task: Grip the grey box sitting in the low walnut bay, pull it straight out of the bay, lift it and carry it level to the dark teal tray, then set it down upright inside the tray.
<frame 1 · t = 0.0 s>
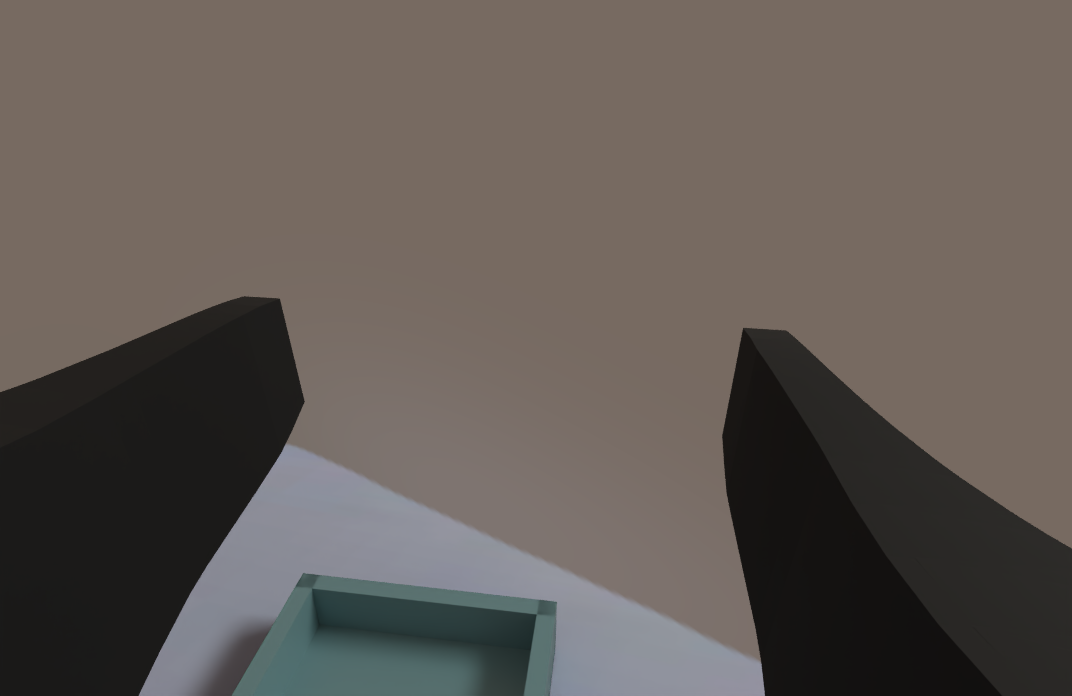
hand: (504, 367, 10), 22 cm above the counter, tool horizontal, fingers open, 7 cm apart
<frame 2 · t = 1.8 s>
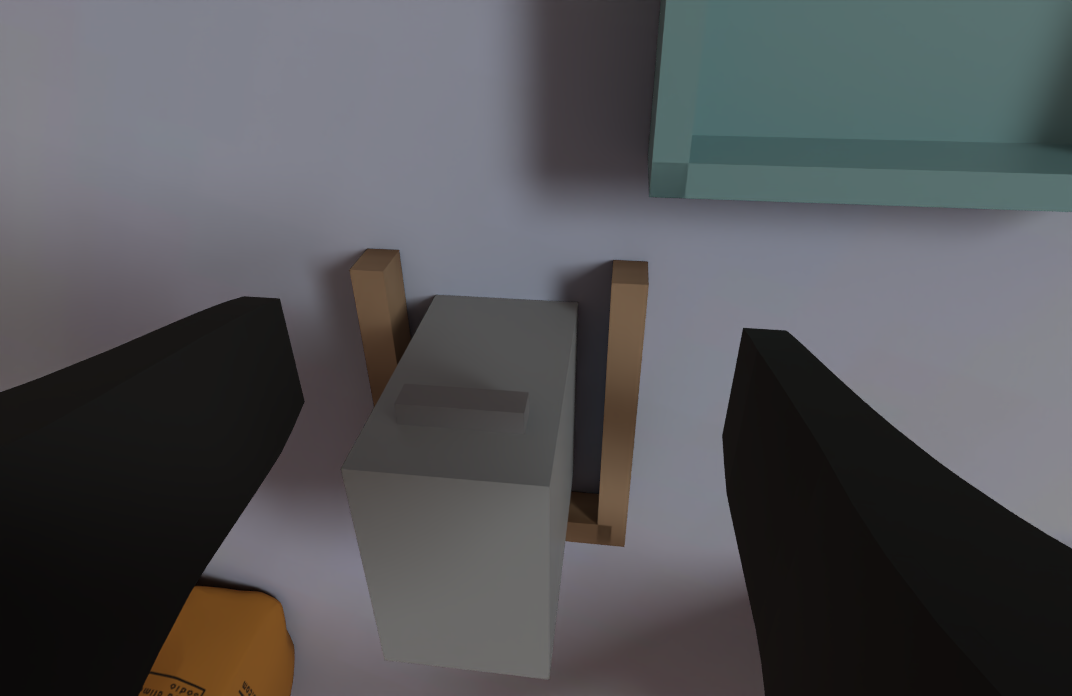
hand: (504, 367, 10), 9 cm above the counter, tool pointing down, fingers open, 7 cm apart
bay: (509, 390, 22), on the counter
coffee package: (211, 634, 33), on the counter
grey box: (509, 388, 22), resting in bay
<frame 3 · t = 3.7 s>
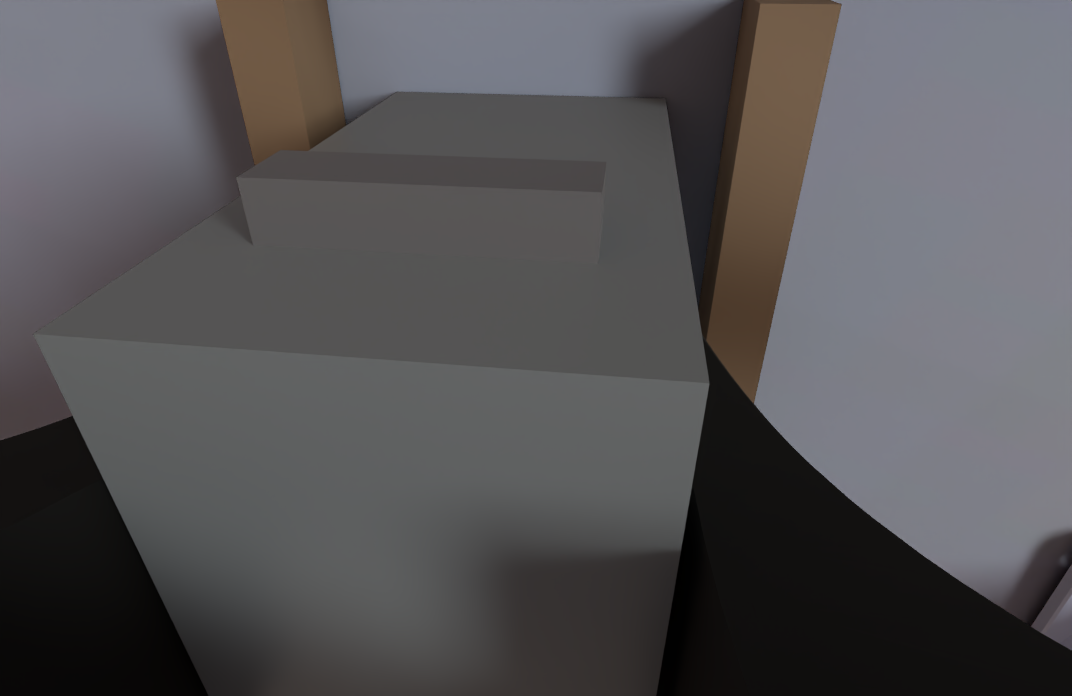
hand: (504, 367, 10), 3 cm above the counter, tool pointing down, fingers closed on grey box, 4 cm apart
bay: (530, 284, 13), on the counter
grey box: (529, 283, 13), resting in bay, touching gripper
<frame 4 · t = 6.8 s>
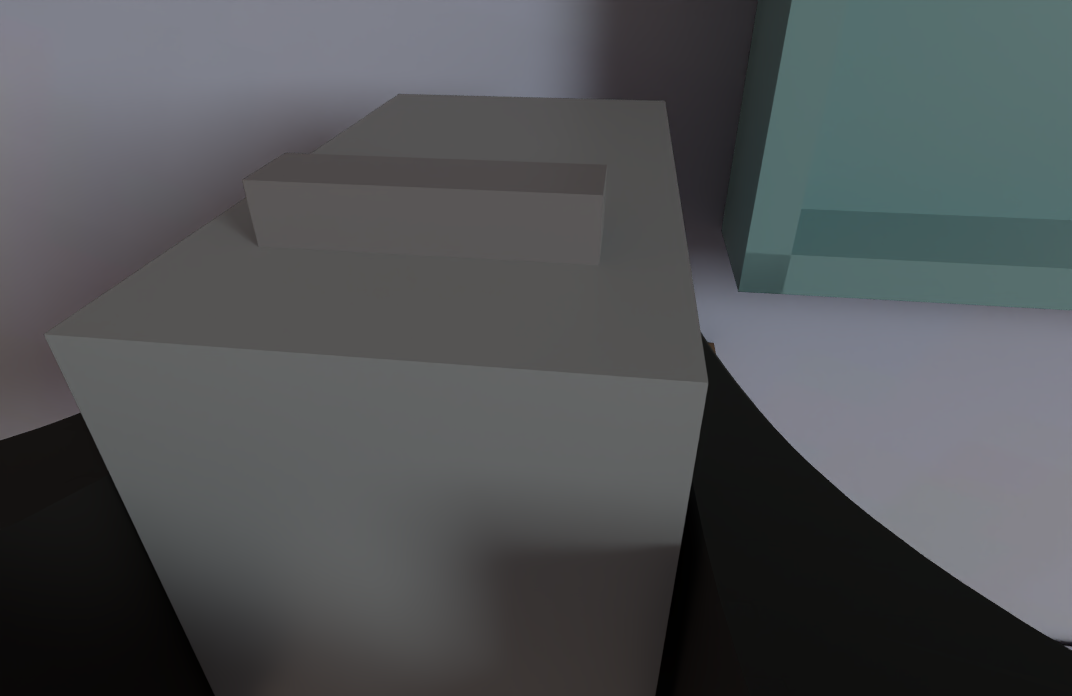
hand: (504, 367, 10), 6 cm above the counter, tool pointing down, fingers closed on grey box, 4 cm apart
grey box: (530, 284, 13), point 3 cm above the counter, touching gripper
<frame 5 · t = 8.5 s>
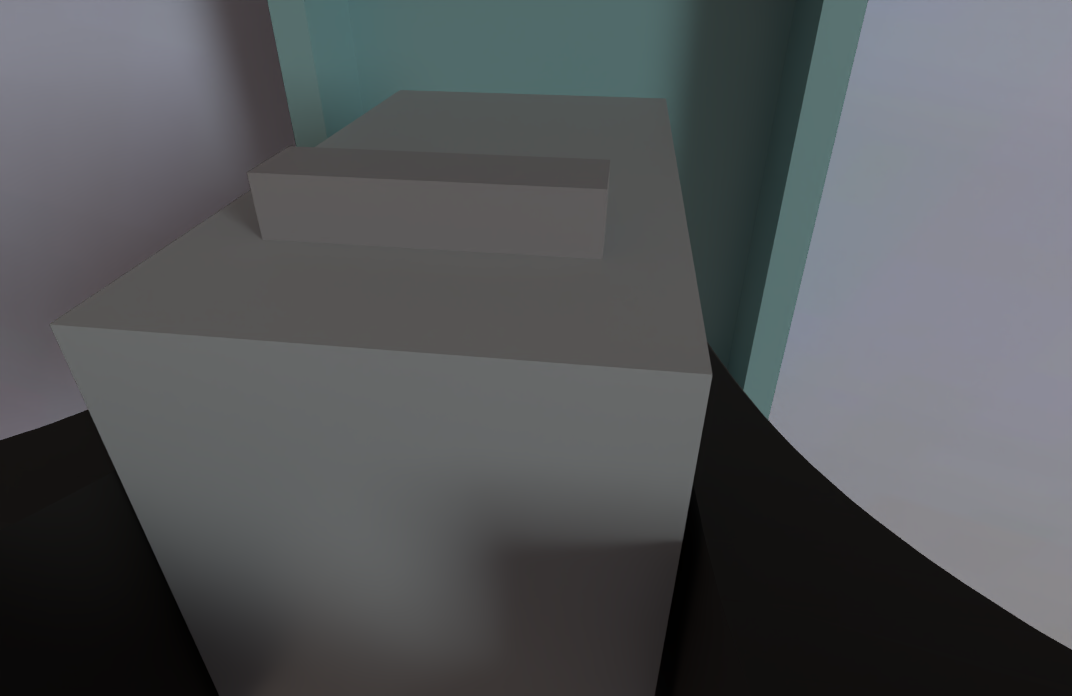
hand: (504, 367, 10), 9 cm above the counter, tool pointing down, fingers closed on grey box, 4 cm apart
tray: (562, 180, 18), on the counter
grey box: (530, 281, 13), point 6 cm above the counter, touching gripper
when the fingers open (5 cm above the counter, at t = 10.0 s): grey box stays where it is, resting on tray.
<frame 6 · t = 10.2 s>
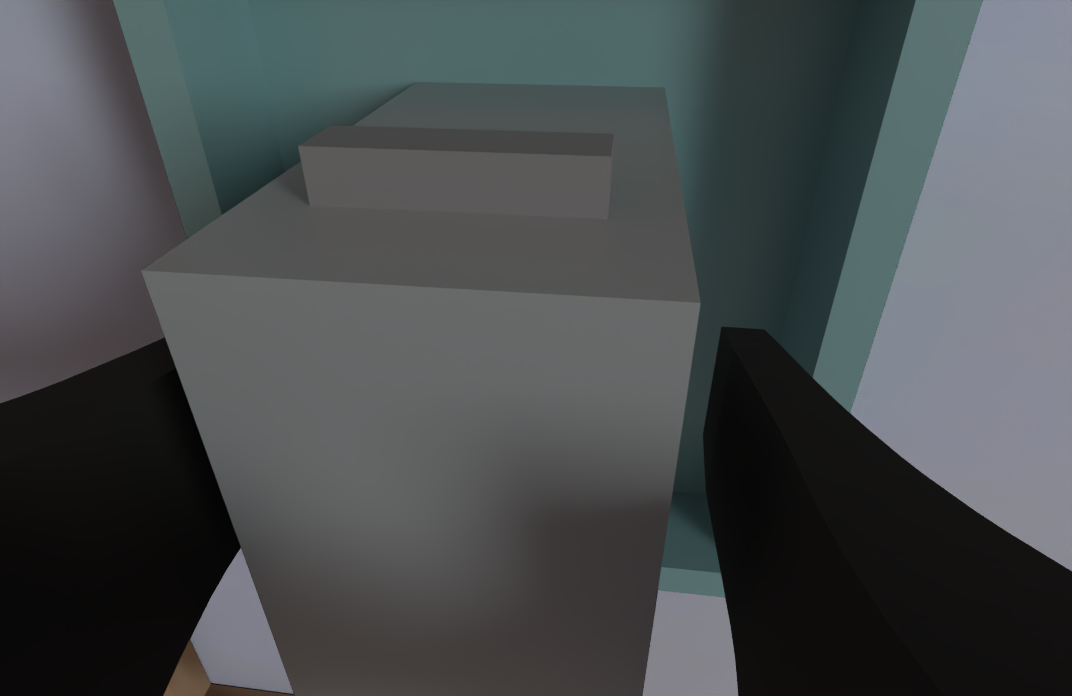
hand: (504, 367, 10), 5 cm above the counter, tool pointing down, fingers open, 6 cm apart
tray: (540, 248, 14), on the counter
bay: (262, 623, 23), on the counter
grey box: (538, 262, 14), point 1 cm above the counter, touching tray
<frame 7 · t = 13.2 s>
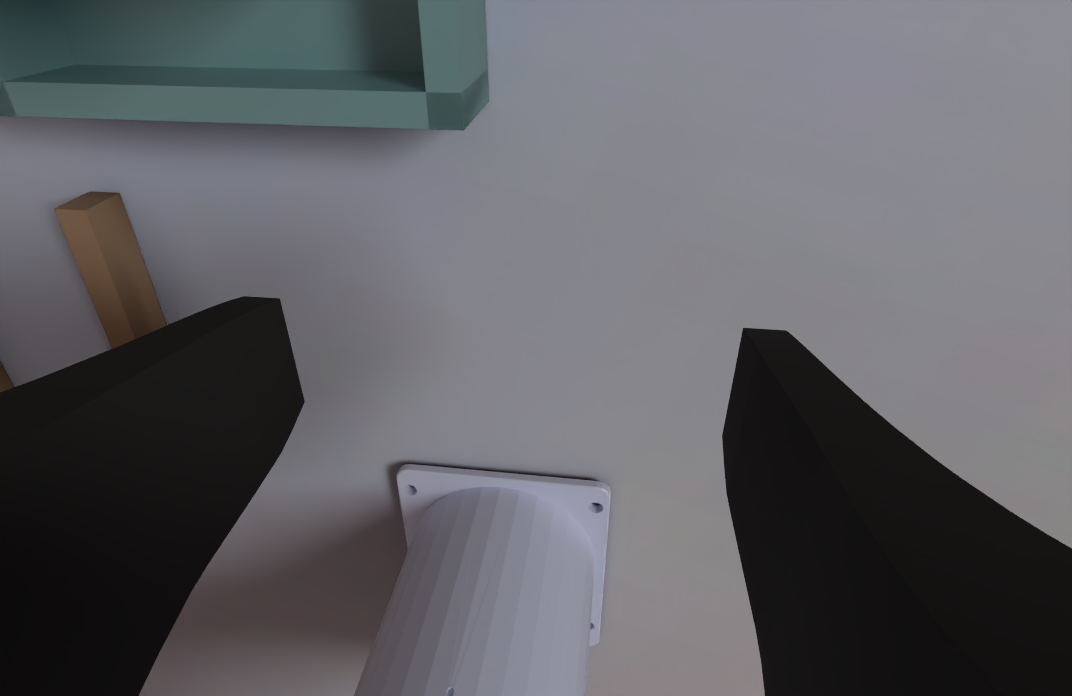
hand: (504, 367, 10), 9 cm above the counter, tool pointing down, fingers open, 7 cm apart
bay: (58, 323, 23), on the counter
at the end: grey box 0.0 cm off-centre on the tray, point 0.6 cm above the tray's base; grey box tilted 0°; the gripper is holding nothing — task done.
